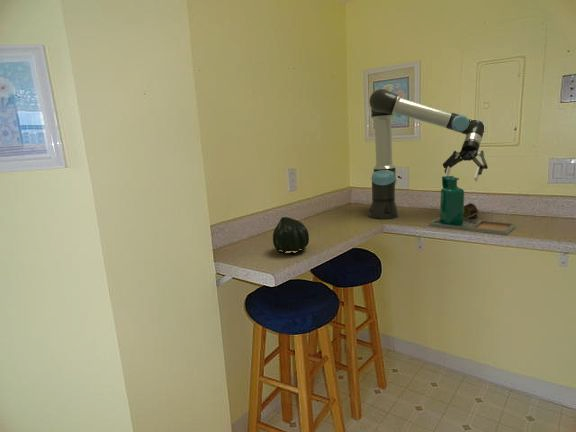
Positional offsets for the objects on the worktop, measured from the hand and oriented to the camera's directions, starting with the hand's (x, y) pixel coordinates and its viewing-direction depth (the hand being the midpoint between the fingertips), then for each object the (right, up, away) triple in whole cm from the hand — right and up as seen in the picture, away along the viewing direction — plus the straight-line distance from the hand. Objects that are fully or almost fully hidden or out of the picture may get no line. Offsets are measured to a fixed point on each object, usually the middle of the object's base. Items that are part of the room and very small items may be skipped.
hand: (460, 179), depth 184 cm
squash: (-80, -32, -28) cm, 91 cm away
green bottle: (-6, -21, -3) cm, 22 cm away
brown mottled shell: (+5, -19, +7) cm, 21 cm away
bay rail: (+1, -22, -8) cm, 24 cm away
